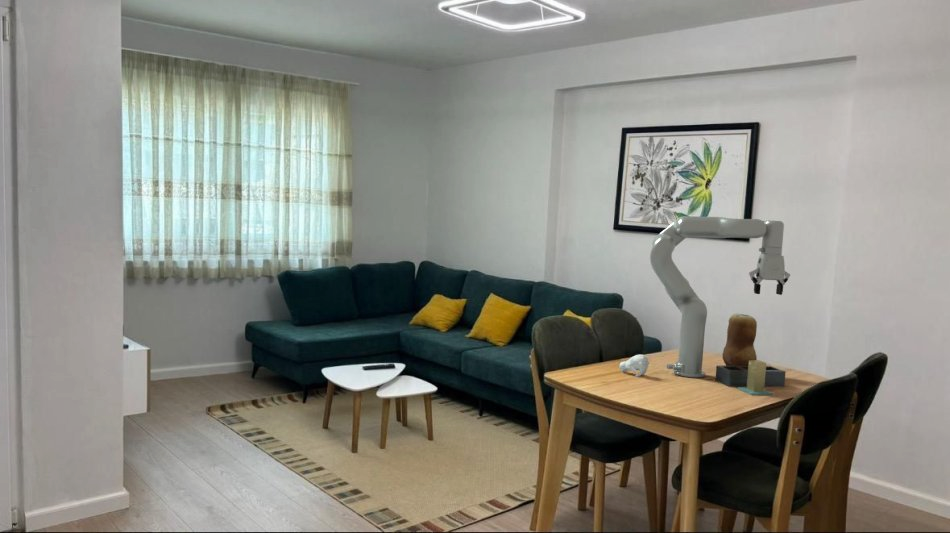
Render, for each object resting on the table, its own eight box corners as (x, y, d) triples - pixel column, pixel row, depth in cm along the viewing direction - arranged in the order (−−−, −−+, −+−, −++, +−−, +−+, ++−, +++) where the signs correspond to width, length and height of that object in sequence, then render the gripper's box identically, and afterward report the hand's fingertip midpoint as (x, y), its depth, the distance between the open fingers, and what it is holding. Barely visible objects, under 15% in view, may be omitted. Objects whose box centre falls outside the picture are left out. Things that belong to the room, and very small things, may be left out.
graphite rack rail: (729, 386, 278) (730, 371, 278) (715, 380, 288) (716, 365, 288) (784, 386, 283) (785, 371, 283) (769, 380, 293) (770, 365, 293)
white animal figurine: (643, 356, 285) (615, 354, 292) (643, 377, 285) (616, 375, 292) (650, 354, 290) (623, 352, 297) (650, 375, 290) (623, 372, 297)
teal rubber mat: (751, 395, 266) (751, 393, 266) (737, 388, 275) (737, 387, 275) (773, 394, 268) (773, 393, 268) (758, 388, 277) (758, 387, 277)
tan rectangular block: (753, 391, 269) (755, 362, 268) (746, 388, 273) (748, 360, 273) (763, 391, 270) (766, 362, 269) (756, 388, 274) (759, 360, 274)
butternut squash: (762, 376, 301) (767, 316, 299) (736, 377, 296) (741, 317, 294) (738, 368, 313) (743, 311, 311) (713, 369, 308) (718, 311, 306)
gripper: (756, 251, 283) (753, 294, 284) (796, 253, 286) (793, 295, 287) (746, 250, 290) (743, 292, 291) (785, 251, 293) (782, 293, 294)
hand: (768, 294), depth 289 cm, fingers open, 9 cm apart
